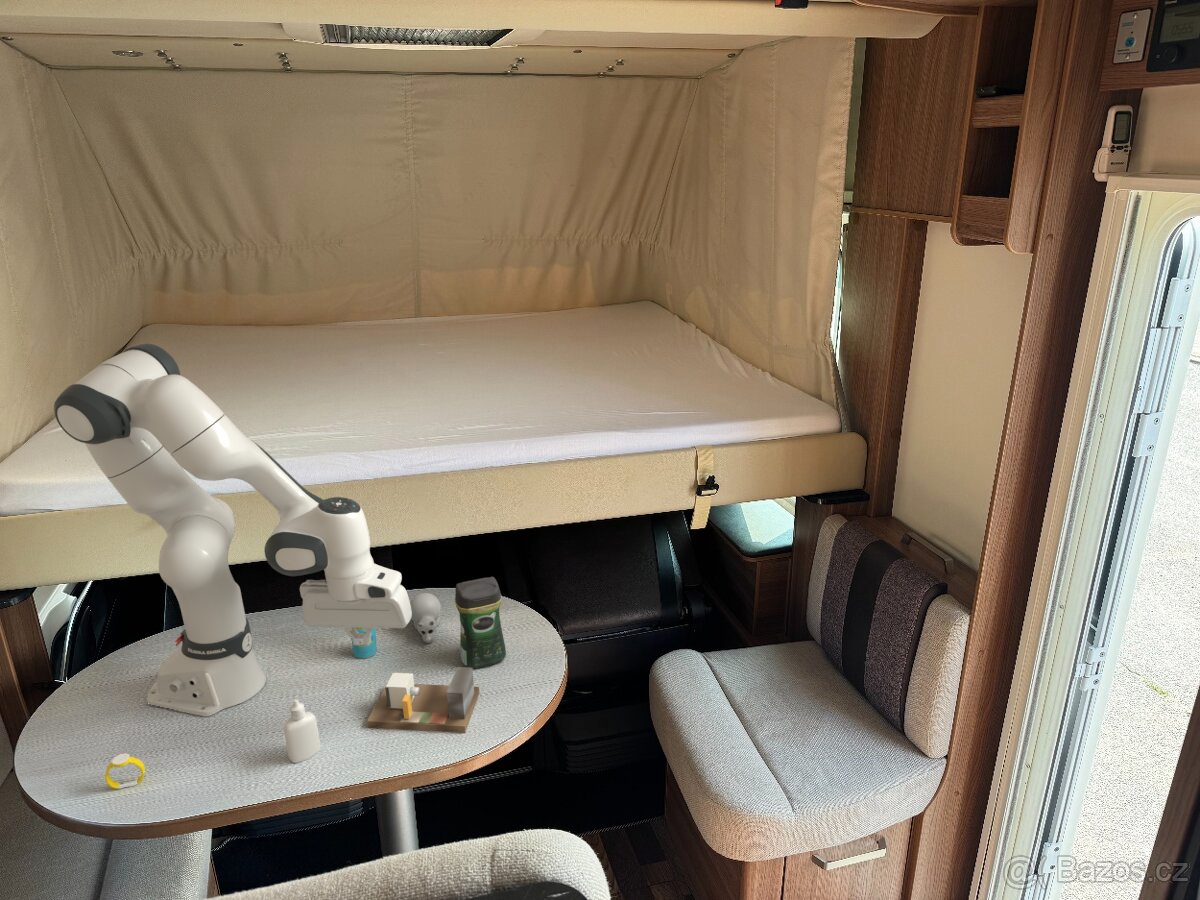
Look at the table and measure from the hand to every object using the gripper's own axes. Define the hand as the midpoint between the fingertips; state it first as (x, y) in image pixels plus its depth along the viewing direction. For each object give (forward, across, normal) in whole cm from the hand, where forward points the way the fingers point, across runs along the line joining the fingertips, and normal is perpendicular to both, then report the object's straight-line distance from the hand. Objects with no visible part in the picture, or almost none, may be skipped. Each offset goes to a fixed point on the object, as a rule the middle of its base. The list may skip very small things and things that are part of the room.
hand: (362, 643), depth 164 cm
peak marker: (+13, +9, -4) cm, 16 cm away
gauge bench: (+15, +11, 0) cm, 18 cm away
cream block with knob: (+13, +7, -2) cm, 15 cm away
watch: (+14, -36, -24) cm, 45 cm away
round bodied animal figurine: (+15, +3, +27) cm, 31 cm away
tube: (+15, -8, +18) cm, 25 cm away
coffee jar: (+16, +18, +18) cm, 30 cm away
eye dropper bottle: (+15, -8, -14) cm, 22 cm away
